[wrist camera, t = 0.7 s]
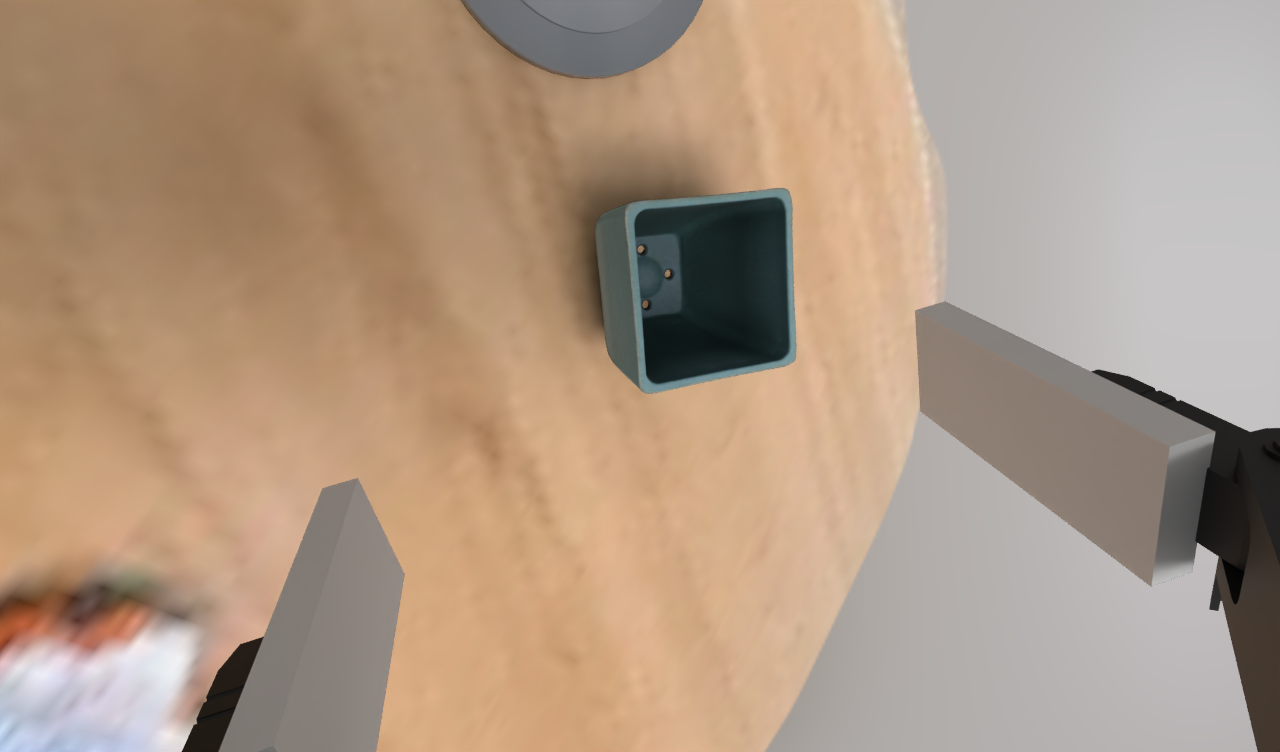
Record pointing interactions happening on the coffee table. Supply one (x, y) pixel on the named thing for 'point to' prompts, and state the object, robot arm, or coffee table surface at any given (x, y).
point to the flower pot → (698, 287)
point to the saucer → (585, 32)
